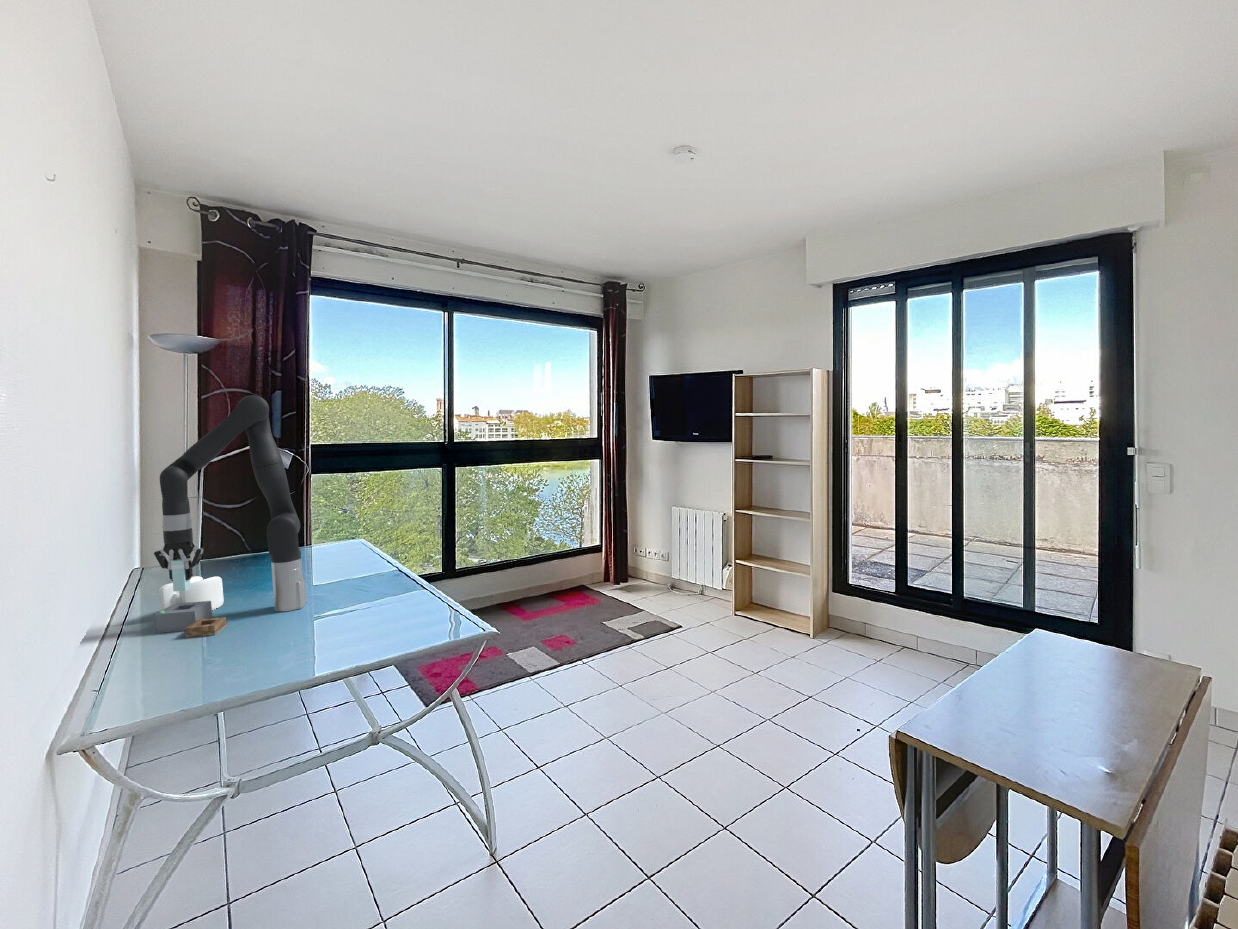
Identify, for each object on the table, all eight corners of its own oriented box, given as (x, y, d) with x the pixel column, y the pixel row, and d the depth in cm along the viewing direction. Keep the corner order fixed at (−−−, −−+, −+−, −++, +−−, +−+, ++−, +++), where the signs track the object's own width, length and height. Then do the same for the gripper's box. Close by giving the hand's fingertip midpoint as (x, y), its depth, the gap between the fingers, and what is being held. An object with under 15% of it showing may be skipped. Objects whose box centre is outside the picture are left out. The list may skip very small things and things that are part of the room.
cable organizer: (185, 621, 193) (182, 587, 192) (160, 619, 196) (156, 586, 195) (224, 606, 208) (222, 575, 207) (200, 605, 210) (198, 574, 209)
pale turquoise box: (191, 587, 190) (188, 557, 189) (185, 590, 187) (183, 560, 186) (178, 588, 189) (176, 558, 189) (173, 591, 186) (170, 561, 185)
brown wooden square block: (226, 626, 187) (225, 617, 187) (215, 635, 179) (214, 625, 179) (198, 628, 185) (198, 619, 185) (185, 637, 177) (185, 628, 177)
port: (212, 618, 195) (210, 599, 195) (196, 629, 185) (194, 609, 184) (175, 621, 193) (173, 602, 193) (156, 633, 182) (155, 613, 182)
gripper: (207, 524, 192) (211, 575, 193) (159, 526, 189) (163, 578, 190) (196, 528, 184) (200, 581, 186) (145, 531, 181) (149, 584, 183)
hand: (181, 579), depth 188 cm, fingers closed on pale turquoise box, 3 cm apart
